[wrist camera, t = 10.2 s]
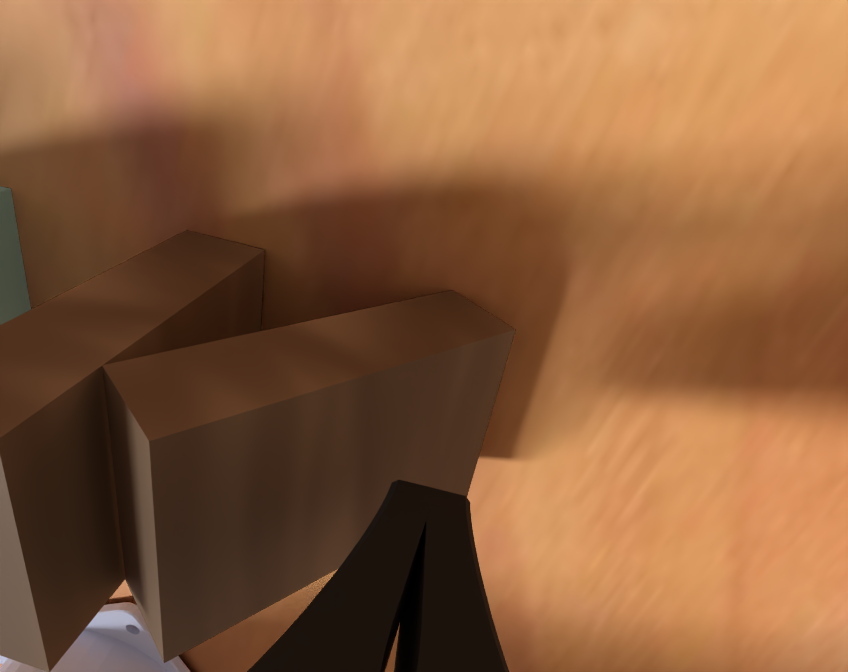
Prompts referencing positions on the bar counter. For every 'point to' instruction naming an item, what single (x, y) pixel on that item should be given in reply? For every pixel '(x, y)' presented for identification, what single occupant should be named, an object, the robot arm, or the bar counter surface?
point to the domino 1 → (11, 263)
